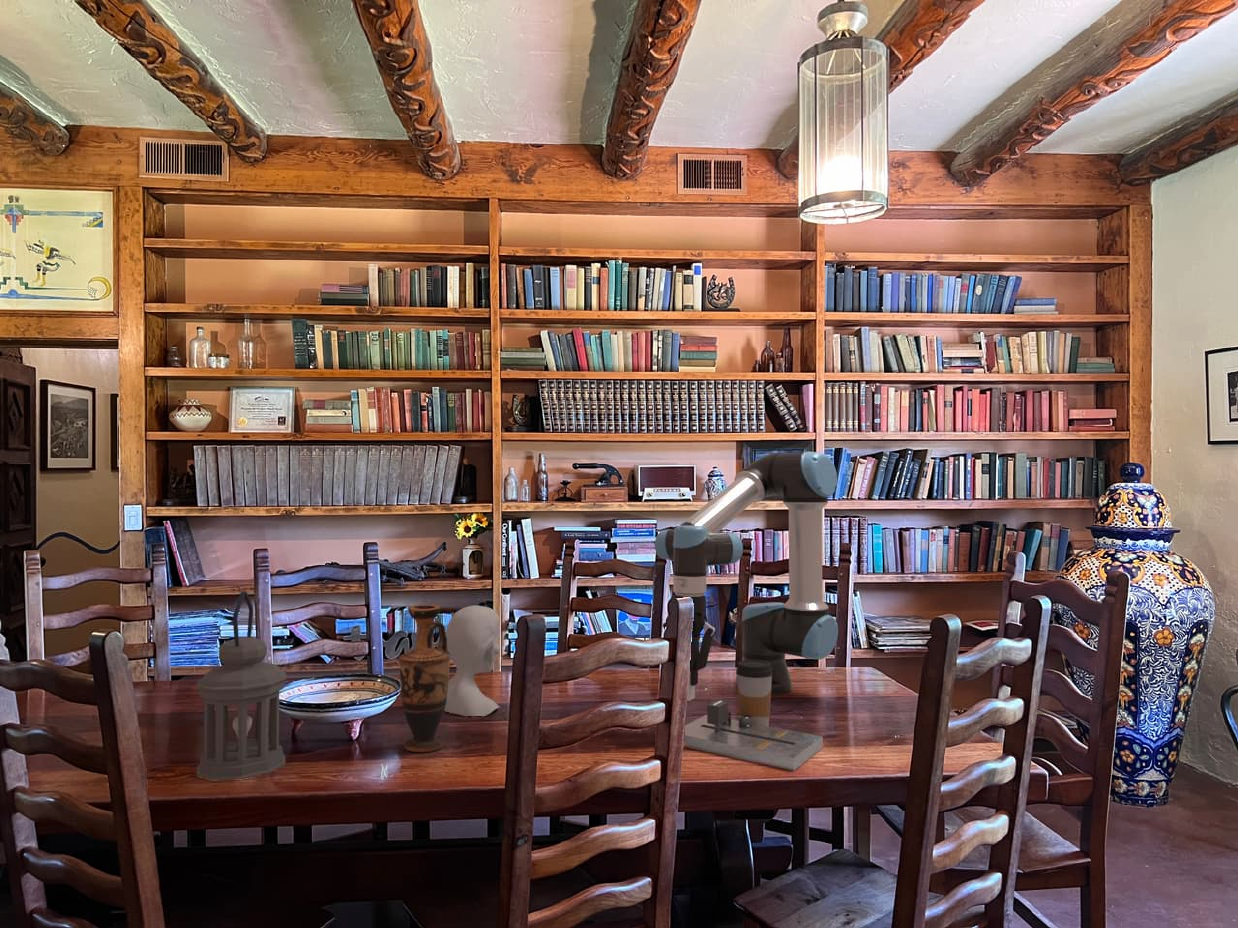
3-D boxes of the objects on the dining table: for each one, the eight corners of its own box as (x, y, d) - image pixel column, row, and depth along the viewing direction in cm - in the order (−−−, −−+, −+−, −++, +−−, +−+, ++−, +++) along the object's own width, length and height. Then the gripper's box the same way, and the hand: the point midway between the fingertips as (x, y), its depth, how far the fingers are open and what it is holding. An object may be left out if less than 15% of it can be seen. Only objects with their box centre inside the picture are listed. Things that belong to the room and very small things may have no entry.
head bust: (529, 701, 207) (529, 604, 208) (478, 720, 191) (479, 615, 191) (467, 689, 219) (467, 597, 219) (414, 706, 203) (414, 607, 203)
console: (706, 725, 187) (706, 705, 187) (822, 747, 171) (822, 726, 171) (671, 743, 174) (671, 723, 174) (794, 770, 158) (793, 747, 158)
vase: (404, 758, 165) (405, 612, 165) (393, 742, 174) (394, 605, 175) (456, 750, 170) (456, 608, 170) (442, 735, 179) (443, 601, 180)
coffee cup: (772, 735, 180) (772, 668, 180) (735, 733, 181) (735, 666, 181) (773, 724, 188) (772, 660, 188) (737, 722, 189) (737, 658, 190)
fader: (716, 731, 179) (716, 699, 179) (727, 733, 178) (727, 701, 178) (707, 736, 175) (707, 703, 176) (718, 739, 174) (718, 705, 174)
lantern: (281, 776, 155) (283, 595, 155) (185, 786, 150) (187, 598, 151) (291, 748, 171) (292, 584, 171) (204, 756, 166) (206, 587, 167)
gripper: (656, 593, 182) (655, 697, 181) (707, 598, 174) (706, 707, 174) (673, 589, 188) (672, 691, 187) (723, 594, 180) (722, 699, 180)
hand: (688, 698), depth 180 cm, fingers closed
